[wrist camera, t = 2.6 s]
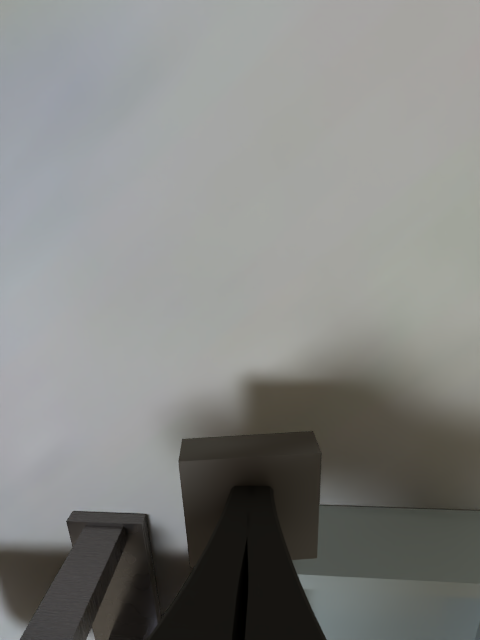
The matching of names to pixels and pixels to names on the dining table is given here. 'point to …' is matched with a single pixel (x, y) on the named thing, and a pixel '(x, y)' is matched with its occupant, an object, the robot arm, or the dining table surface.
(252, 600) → the robot arm
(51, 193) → the dining table surface
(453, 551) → the tray
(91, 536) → the stand
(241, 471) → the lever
